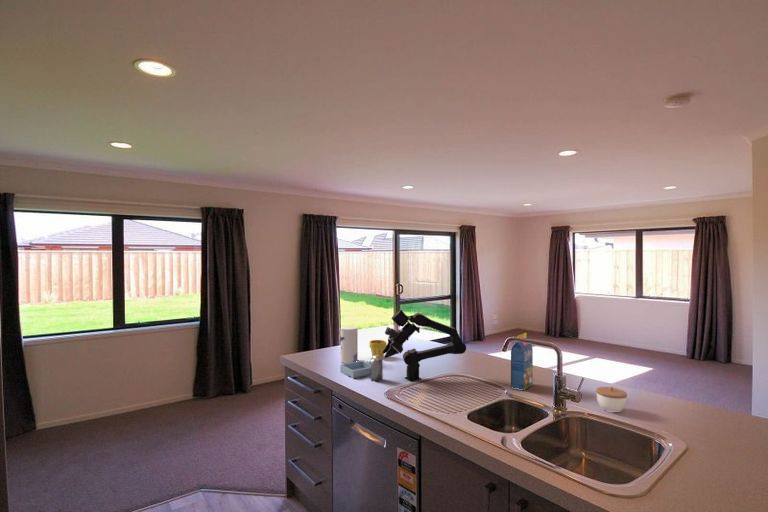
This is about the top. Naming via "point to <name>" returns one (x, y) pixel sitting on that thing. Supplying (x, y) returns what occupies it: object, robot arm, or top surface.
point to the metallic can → (376, 368)
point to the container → (349, 344)
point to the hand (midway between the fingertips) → (383, 355)
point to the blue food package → (521, 364)
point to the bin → (356, 369)
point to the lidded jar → (611, 398)
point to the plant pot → (377, 347)
